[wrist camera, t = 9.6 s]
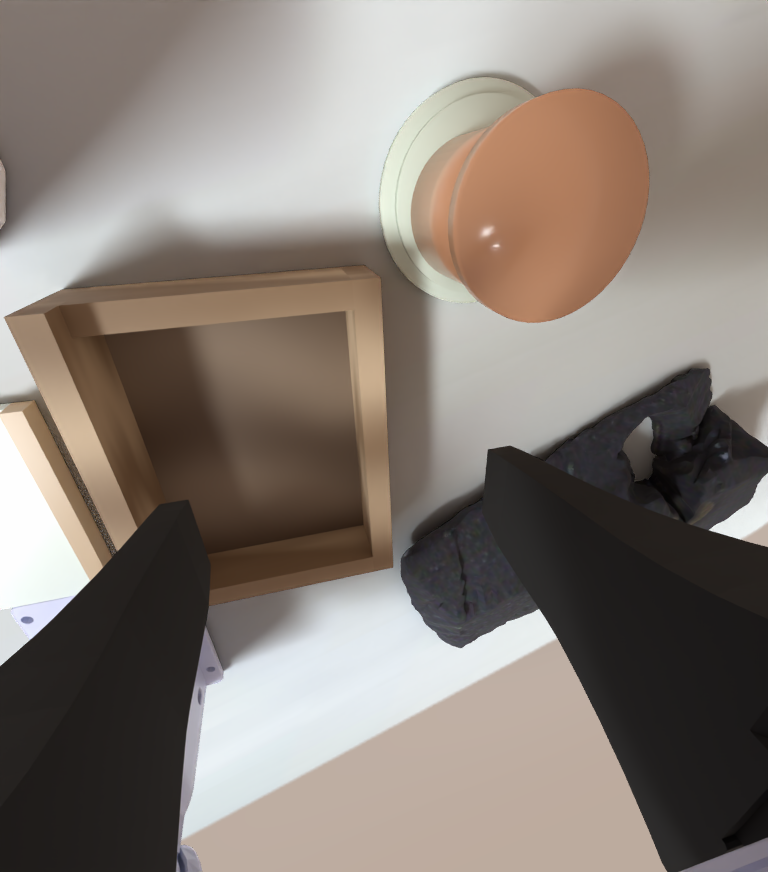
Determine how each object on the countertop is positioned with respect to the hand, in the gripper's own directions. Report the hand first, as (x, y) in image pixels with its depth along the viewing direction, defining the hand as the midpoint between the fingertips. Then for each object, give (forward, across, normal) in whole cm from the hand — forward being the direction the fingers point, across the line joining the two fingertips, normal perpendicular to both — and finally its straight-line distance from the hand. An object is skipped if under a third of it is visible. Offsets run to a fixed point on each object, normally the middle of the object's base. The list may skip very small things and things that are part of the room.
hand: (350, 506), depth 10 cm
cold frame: (+10, +3, +3) cm, 11 cm away
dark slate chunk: (+11, -15, +13) cm, 22 cm away
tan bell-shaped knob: (+9, -7, -6) cm, 13 cm away
